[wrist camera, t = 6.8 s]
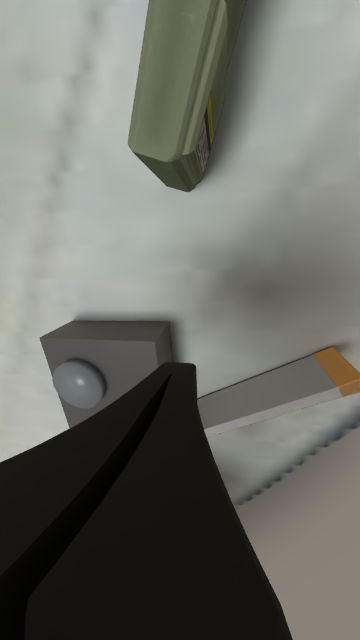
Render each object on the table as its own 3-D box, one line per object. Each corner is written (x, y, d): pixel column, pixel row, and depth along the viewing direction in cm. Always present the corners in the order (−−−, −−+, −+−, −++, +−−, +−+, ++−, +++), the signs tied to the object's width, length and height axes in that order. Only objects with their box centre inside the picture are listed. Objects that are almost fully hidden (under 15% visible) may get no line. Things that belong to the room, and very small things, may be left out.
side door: (182, 412, 21) (173, 447, 18) (177, 406, 21) (167, 440, 18) (337, 355, 16) (370, 389, 12) (332, 346, 16) (364, 377, 12)
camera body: (177, 409, 22) (164, 452, 17) (94, 400, 24) (64, 436, 20) (169, 321, 18) (150, 346, 14) (72, 320, 20) (30, 342, 16)
